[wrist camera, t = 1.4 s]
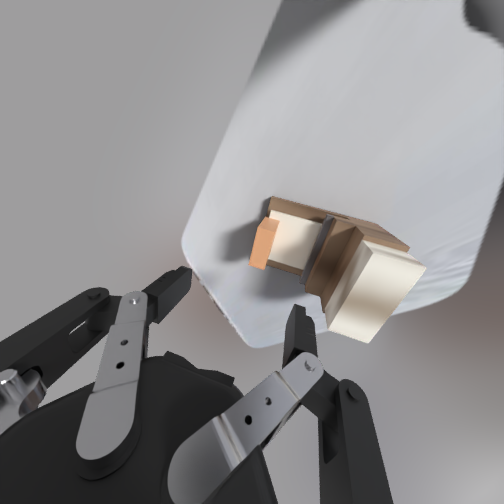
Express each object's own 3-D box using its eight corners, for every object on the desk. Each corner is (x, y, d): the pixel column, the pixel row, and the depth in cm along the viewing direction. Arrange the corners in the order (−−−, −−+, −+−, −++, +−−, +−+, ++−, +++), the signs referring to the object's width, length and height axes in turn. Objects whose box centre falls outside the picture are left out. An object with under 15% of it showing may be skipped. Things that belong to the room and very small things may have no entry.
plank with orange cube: (267, 208, 24) (259, 218, 20) (338, 228, 23) (349, 243, 18) (256, 253, 28) (246, 271, 23) (318, 272, 26) (322, 296, 22)
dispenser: (272, 196, 25) (254, 212, 15) (376, 223, 23) (431, 262, 14) (256, 257, 30) (234, 301, 20) (342, 284, 28) (365, 346, 18)
